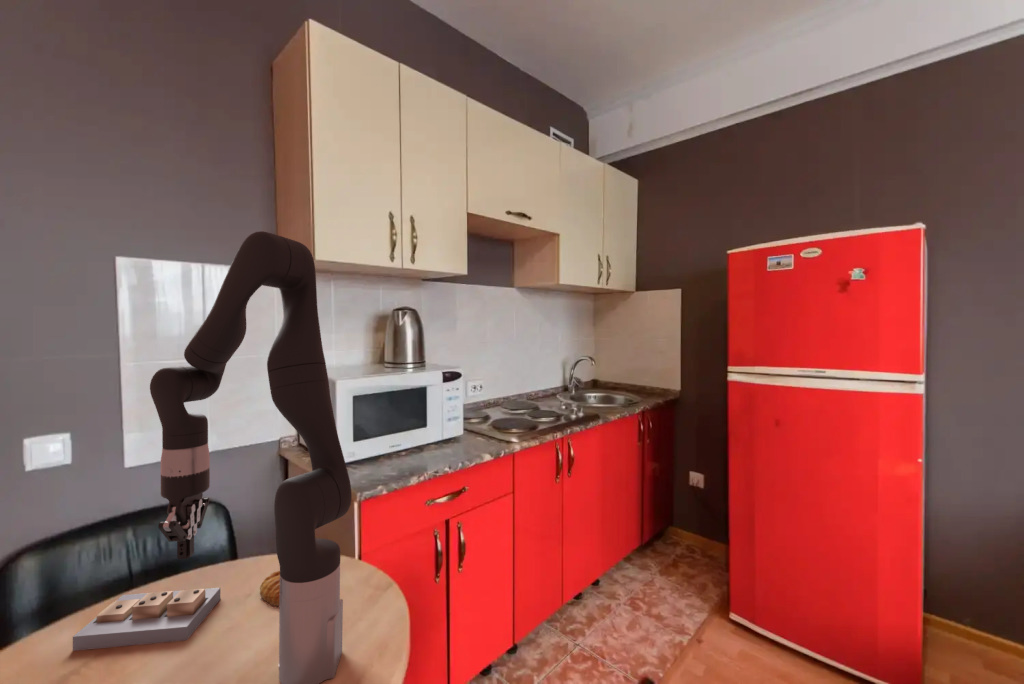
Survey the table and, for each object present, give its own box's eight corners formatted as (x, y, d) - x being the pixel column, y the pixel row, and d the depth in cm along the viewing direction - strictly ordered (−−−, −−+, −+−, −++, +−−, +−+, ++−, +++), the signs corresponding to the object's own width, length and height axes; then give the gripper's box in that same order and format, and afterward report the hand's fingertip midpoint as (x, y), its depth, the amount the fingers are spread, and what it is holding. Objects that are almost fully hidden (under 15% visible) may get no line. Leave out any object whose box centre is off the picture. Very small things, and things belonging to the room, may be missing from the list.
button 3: (173, 603, 84) (173, 589, 84) (158, 617, 80) (158, 603, 80) (148, 605, 83) (148, 591, 83) (132, 620, 79) (132, 605, 79)
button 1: (140, 611, 83) (140, 597, 83) (123, 626, 79) (123, 612, 79) (114, 613, 82) (114, 599, 82) (96, 629, 78) (96, 614, 78)
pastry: (306, 598, 90) (306, 581, 90) (272, 614, 85) (272, 595, 85) (289, 581, 96) (289, 564, 96) (256, 594, 91) (256, 577, 91)
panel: (220, 599, 89) (220, 587, 89) (186, 640, 77) (186, 626, 77) (123, 606, 86) (123, 594, 86) (72, 650, 74) (72, 636, 74)
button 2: (205, 600, 85) (205, 587, 85) (192, 615, 81) (192, 601, 81) (180, 602, 84) (181, 589, 84) (166, 617, 80) (167, 603, 80)
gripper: (187, 478, 76) (187, 574, 76) (223, 457, 89) (223, 539, 89) (140, 481, 75) (140, 578, 75) (184, 459, 88) (184, 542, 88)
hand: (185, 556), depth 82 cm, fingers closed
